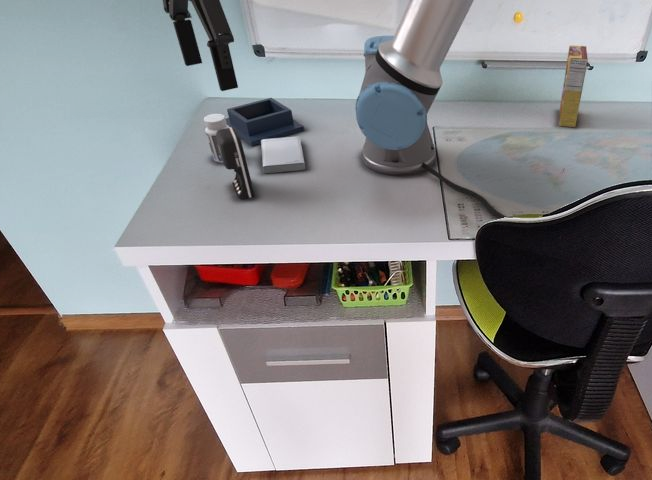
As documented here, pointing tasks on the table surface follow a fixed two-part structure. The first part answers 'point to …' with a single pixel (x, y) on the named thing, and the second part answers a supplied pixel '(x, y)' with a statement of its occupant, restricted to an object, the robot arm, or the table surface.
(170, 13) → the robot arm
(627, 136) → the table surface
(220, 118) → the pill bottle
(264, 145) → the hard drive
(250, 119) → the holder
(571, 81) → the candy box
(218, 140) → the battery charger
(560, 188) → the table surface
